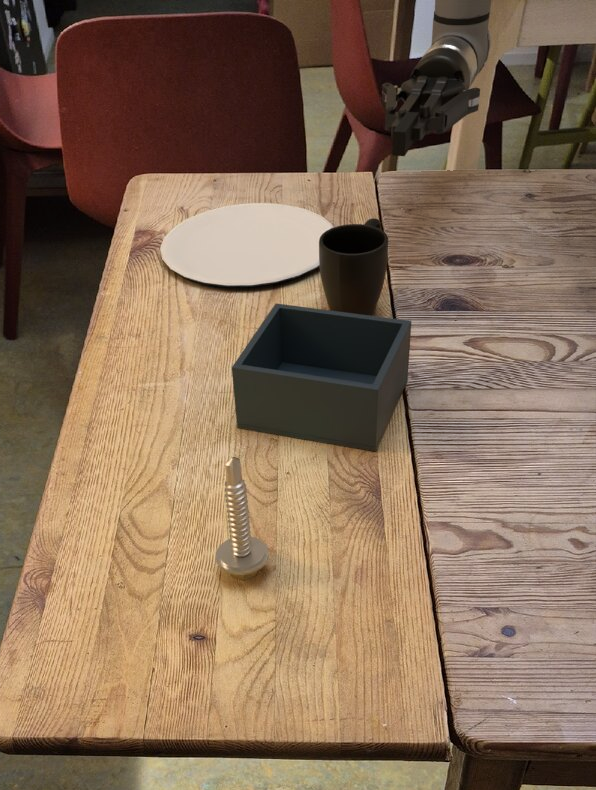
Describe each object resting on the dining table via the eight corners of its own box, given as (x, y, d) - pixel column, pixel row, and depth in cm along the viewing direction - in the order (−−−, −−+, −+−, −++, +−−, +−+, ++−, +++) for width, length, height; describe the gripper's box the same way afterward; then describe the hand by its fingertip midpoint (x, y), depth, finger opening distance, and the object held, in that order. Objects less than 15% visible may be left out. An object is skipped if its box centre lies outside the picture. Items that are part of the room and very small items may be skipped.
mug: (405, 289, 120) (410, 216, 113) (370, 334, 113) (372, 259, 106) (347, 278, 123) (348, 206, 116) (308, 321, 116) (307, 248, 109)
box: (278, 362, 110) (275, 303, 104) (407, 381, 105) (411, 320, 100) (237, 428, 101) (231, 367, 96) (375, 451, 97) (378, 389, 91)
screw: (217, 590, 84) (218, 553, 87) (270, 587, 84) (269, 551, 87) (202, 477, 75) (204, 441, 78) (262, 474, 74) (261, 438, 78)
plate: (329, 204, 139) (329, 195, 138) (347, 285, 121) (347, 276, 120) (163, 216, 139) (162, 208, 138) (157, 299, 122) (156, 290, 121)
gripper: (488, 110, 124) (451, 180, 109) (393, 105, 128) (345, 172, 113) (495, 48, 119) (457, 112, 104) (396, 44, 123) (345, 106, 108)
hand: (398, 143), depth 109 cm, fingers closed
